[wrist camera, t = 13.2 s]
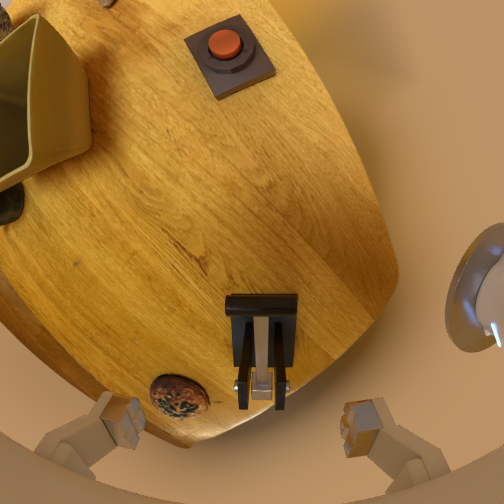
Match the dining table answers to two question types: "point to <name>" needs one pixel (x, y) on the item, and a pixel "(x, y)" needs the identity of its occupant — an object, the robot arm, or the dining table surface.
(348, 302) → the dining table surface
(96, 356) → the dining table surface
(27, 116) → the flower pot
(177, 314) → the dining table surface
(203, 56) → the button block
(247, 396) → the bracket
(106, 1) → the seashell
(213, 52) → the button
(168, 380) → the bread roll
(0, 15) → the decorative vase
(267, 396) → the lever
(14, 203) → the mug
